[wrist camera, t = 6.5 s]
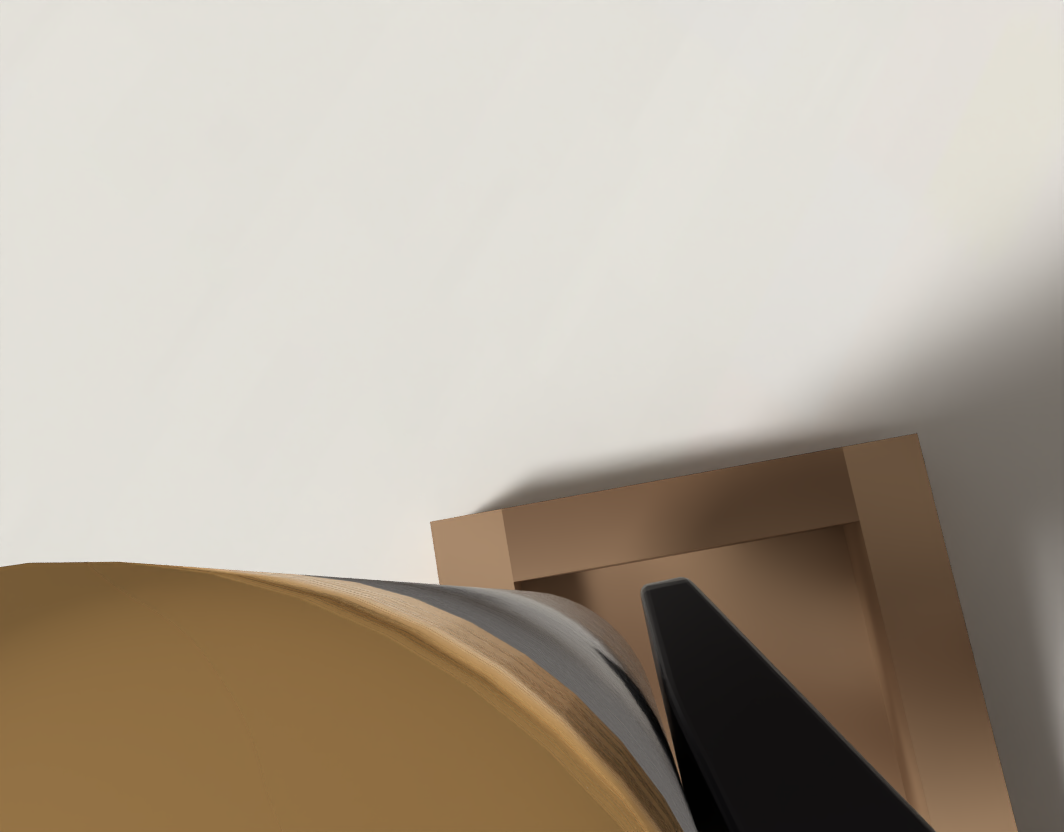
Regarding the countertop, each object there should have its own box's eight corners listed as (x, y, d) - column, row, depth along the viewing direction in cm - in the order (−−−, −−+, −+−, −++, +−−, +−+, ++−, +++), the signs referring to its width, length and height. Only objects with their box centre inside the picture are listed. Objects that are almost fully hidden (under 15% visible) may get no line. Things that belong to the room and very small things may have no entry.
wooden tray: (1007, 930, 20) (1052, 970, 18) (521, 1004, 20) (510, 1051, 18) (888, 448, 22) (916, 433, 19) (447, 528, 22) (430, 521, 20)
